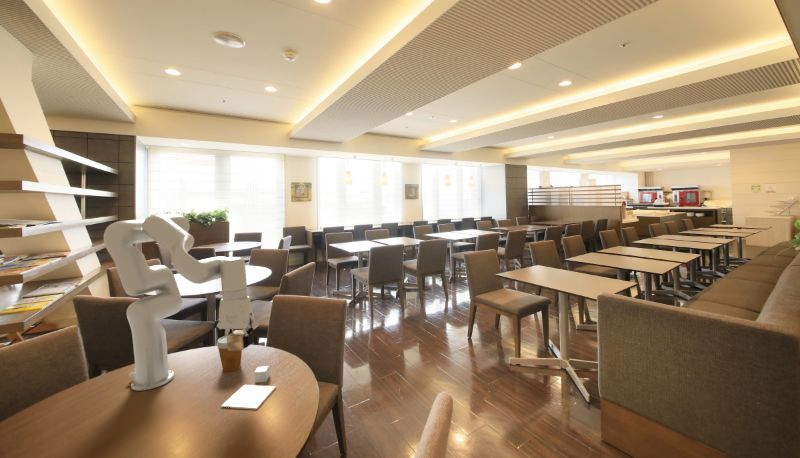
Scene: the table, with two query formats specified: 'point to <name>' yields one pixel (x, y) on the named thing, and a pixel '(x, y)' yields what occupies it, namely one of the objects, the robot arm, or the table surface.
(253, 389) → the tray
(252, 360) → the table surface
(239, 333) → the oak cube
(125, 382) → the table surface
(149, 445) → the table surface
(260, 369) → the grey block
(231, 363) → the disposable coffee cup
